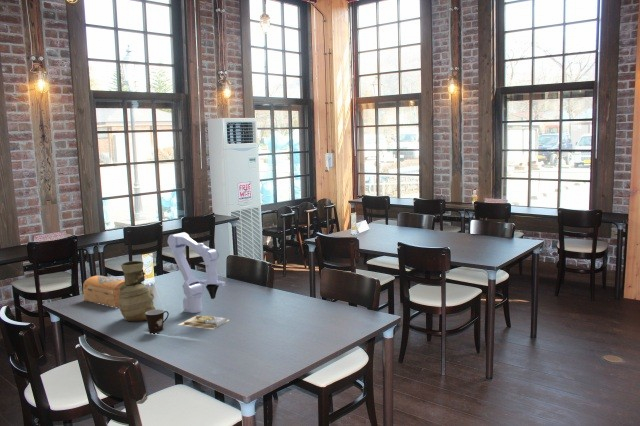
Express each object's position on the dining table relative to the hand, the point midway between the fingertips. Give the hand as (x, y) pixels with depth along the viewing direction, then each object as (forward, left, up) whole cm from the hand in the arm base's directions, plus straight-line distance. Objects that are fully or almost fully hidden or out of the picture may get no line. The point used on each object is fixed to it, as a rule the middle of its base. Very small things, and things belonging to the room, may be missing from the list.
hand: (213, 298), depth 301 cm
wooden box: (-76, +6, -10) cm, 76 cm away
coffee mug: (-13, -28, -10) cm, 32 cm away
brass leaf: (+3, -12, -9) cm, 15 cm away
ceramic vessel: (-37, -15, -10) cm, 41 cm away
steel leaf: (+8, -12, -9) cm, 17 cm away
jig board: (+2, -12, -10) cm, 16 cm away
